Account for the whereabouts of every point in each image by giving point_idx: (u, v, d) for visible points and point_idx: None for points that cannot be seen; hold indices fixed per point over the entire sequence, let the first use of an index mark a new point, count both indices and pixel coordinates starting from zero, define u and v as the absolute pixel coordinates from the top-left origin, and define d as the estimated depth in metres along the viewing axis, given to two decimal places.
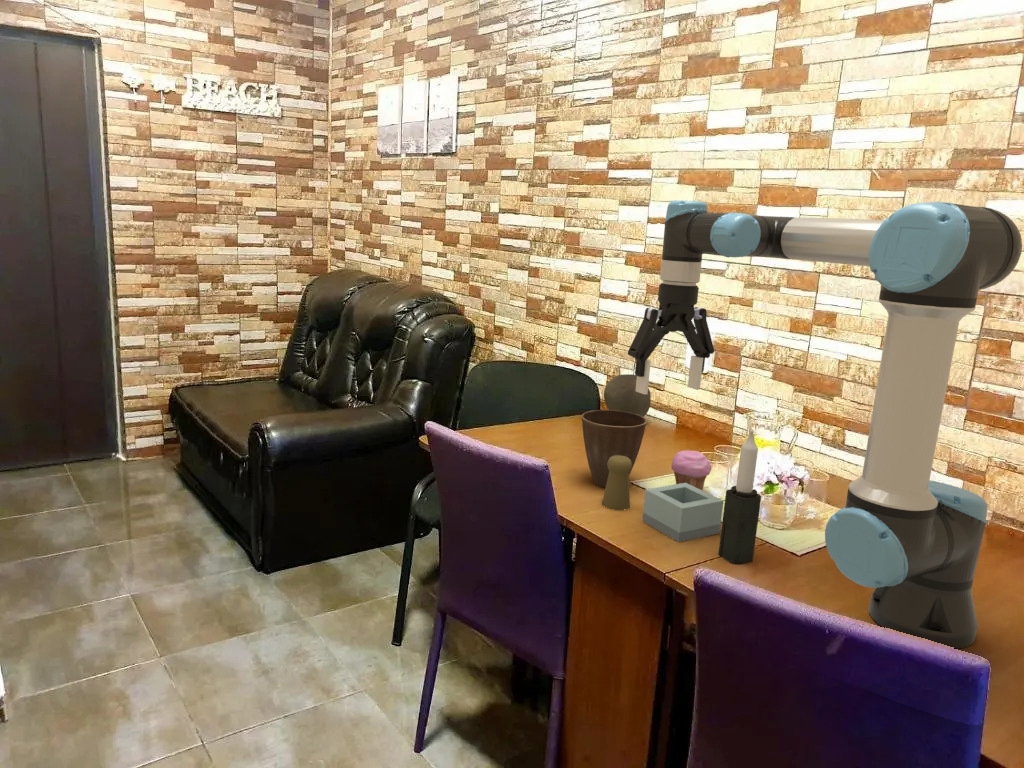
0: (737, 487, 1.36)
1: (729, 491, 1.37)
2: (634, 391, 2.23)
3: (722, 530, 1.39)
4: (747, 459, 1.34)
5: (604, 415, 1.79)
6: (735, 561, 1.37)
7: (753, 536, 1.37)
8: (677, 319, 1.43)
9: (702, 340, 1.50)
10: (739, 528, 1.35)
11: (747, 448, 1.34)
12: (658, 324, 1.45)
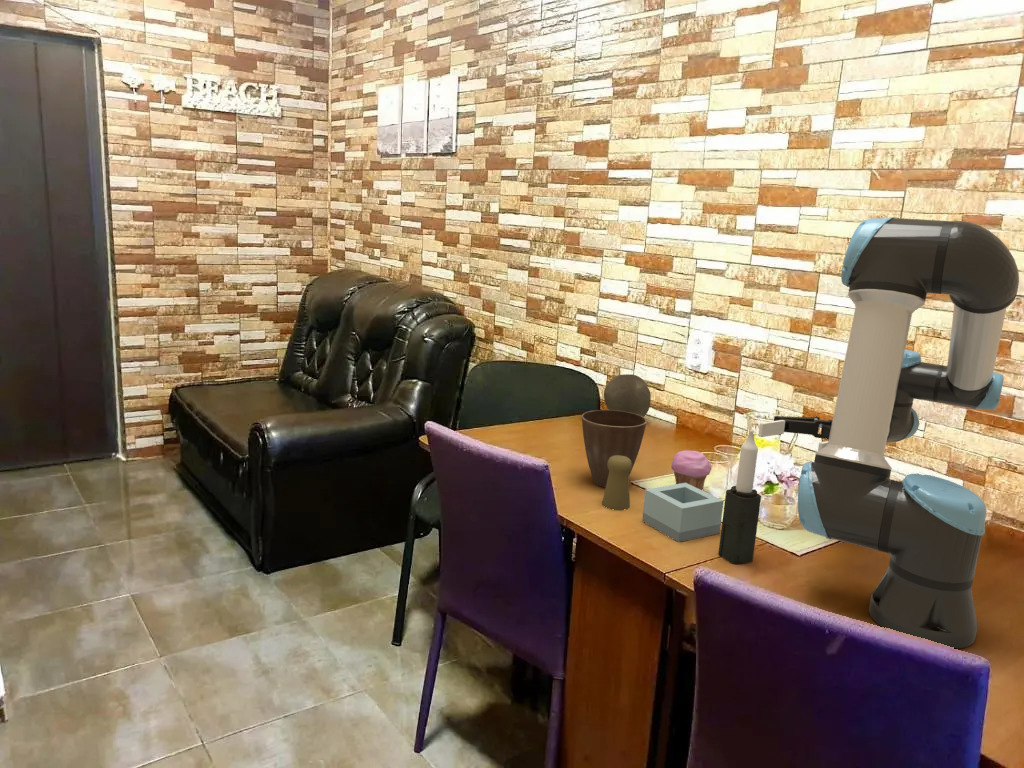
0: (737, 487, 1.36)
1: (729, 491, 1.37)
2: (634, 391, 2.23)
3: (722, 530, 1.39)
4: (747, 458, 1.34)
5: (604, 415, 1.79)
6: (735, 561, 1.37)
7: (753, 536, 1.37)
8: None
9: None
10: (739, 528, 1.35)
11: (746, 448, 1.34)
12: (819, 434, 1.49)
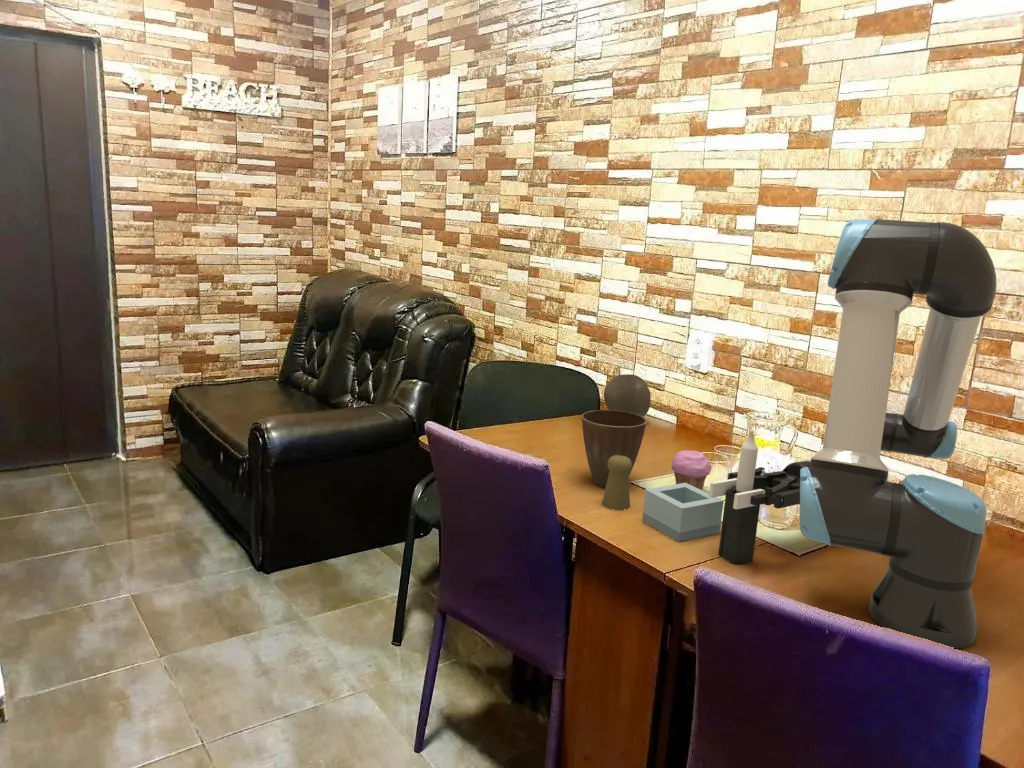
0: (737, 487, 1.36)
1: (729, 491, 1.37)
2: (634, 391, 2.23)
3: (722, 530, 1.39)
4: (747, 458, 1.34)
5: (604, 415, 1.79)
6: (735, 561, 1.37)
7: (753, 536, 1.37)
8: (782, 472, 1.43)
9: None
10: (739, 528, 1.35)
11: (747, 448, 1.34)
12: None
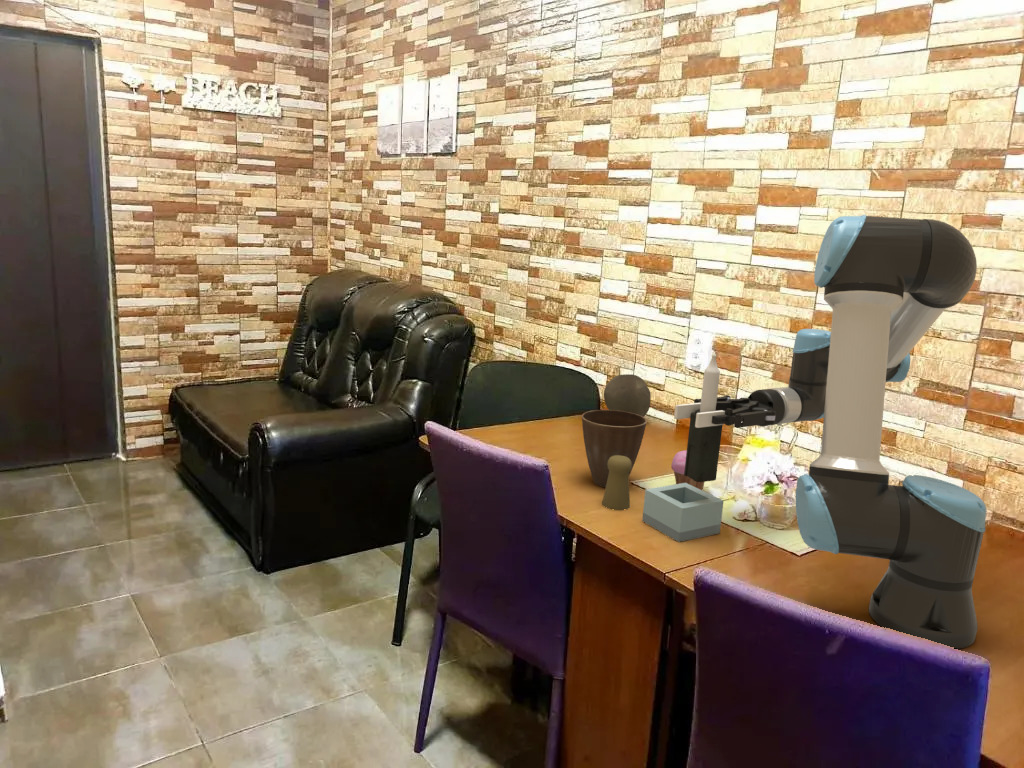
0: (701, 409, 1.45)
1: (693, 413, 1.46)
2: (634, 391, 2.23)
3: (687, 451, 1.47)
4: (709, 381, 1.42)
5: (604, 415, 1.79)
6: (698, 479, 1.45)
7: (716, 455, 1.45)
8: (745, 398, 1.51)
9: None
10: (702, 447, 1.44)
11: (709, 372, 1.42)
12: None
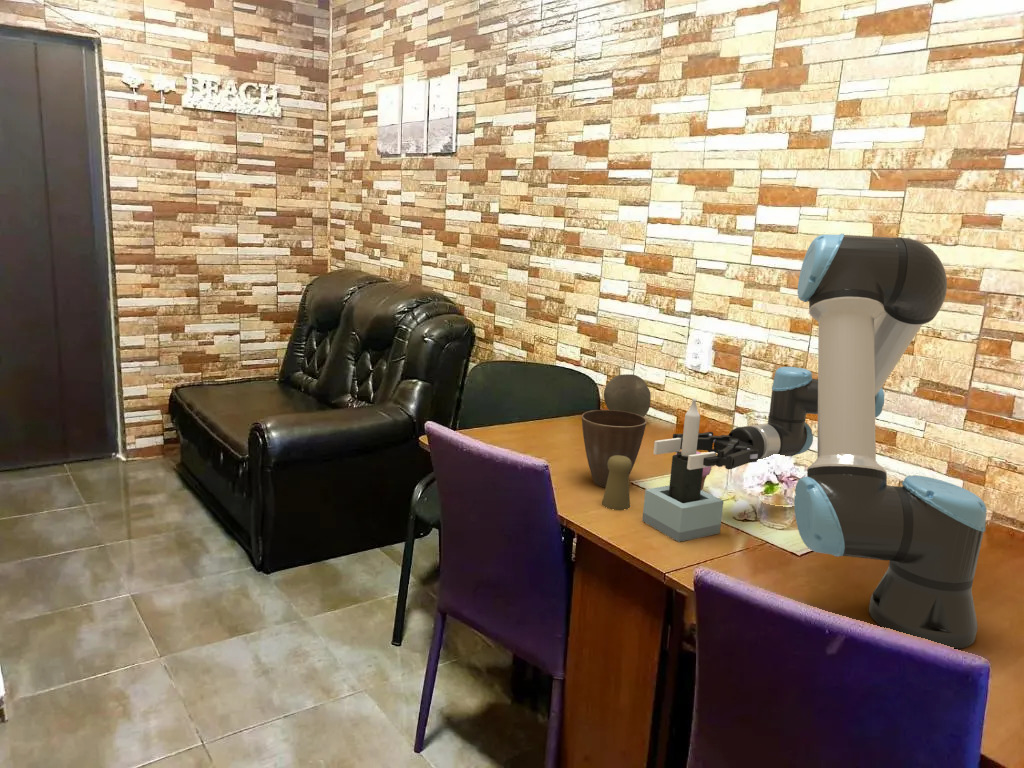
0: (682, 452, 1.49)
1: (675, 456, 1.50)
2: (634, 391, 2.23)
3: (669, 492, 1.51)
4: (690, 425, 1.47)
5: (604, 415, 1.79)
6: None
7: (697, 497, 1.49)
8: (726, 436, 1.55)
9: None
10: (684, 489, 1.47)
11: (690, 416, 1.46)
12: (713, 449, 1.56)
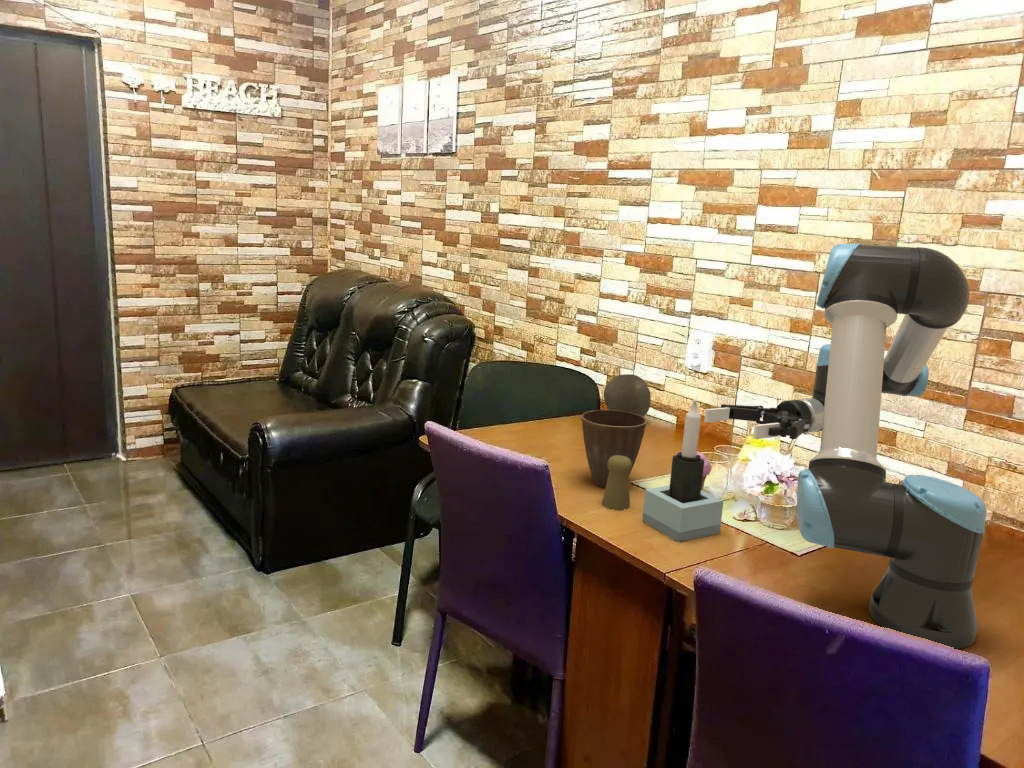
0: (682, 452, 1.48)
1: (675, 456, 1.49)
2: (634, 391, 2.23)
3: (669, 493, 1.51)
4: (690, 426, 1.46)
5: (604, 415, 1.79)
6: None
7: (697, 497, 1.49)
8: (774, 408, 1.61)
9: None
10: (684, 490, 1.47)
11: (690, 417, 1.46)
12: (761, 421, 1.63)
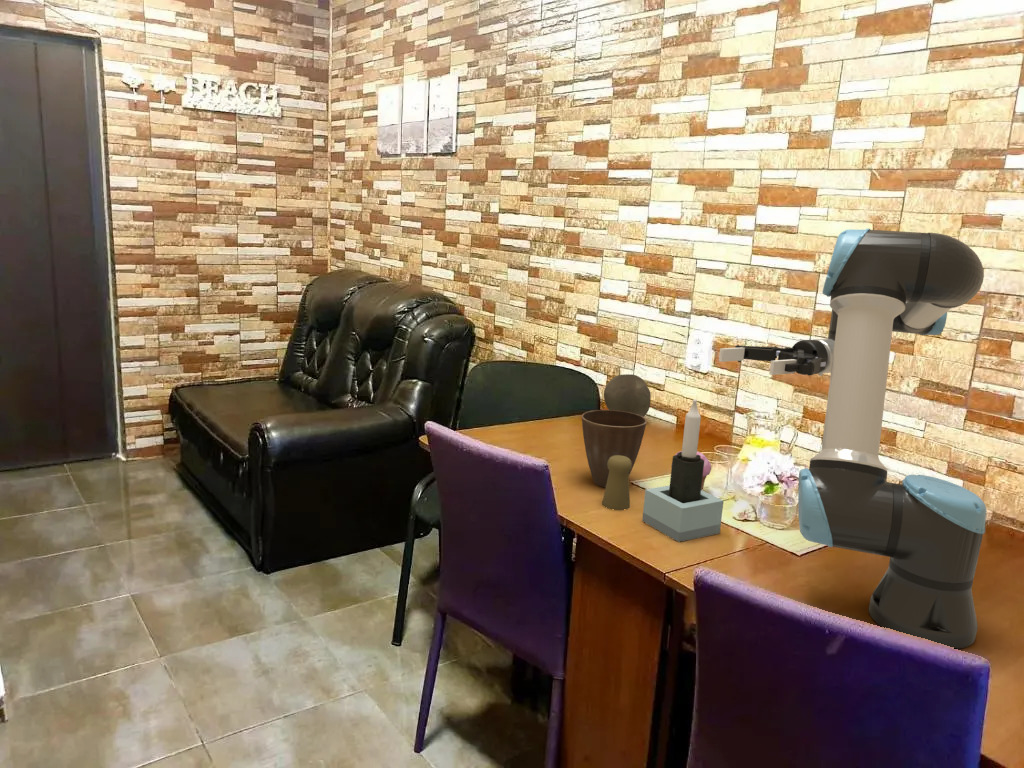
0: (682, 453, 1.48)
1: (675, 456, 1.49)
2: (634, 391, 2.23)
3: (669, 493, 1.51)
4: (690, 426, 1.46)
5: (604, 415, 1.79)
6: None
7: (697, 497, 1.49)
8: (790, 348, 1.59)
9: None
10: (684, 490, 1.47)
11: (690, 417, 1.46)
12: None
